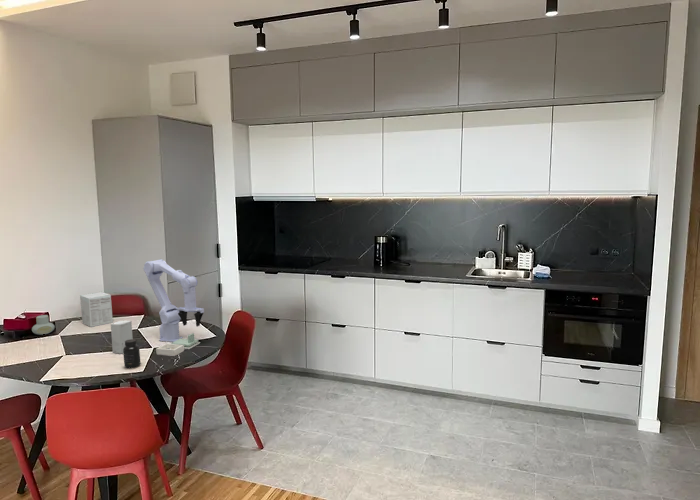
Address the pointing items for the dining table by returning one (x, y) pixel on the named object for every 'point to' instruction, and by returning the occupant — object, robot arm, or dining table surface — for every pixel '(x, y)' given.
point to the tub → (170, 349)
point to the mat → (192, 345)
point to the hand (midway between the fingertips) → (191, 325)
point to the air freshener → (43, 325)
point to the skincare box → (120, 335)
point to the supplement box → (96, 309)
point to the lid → (186, 341)
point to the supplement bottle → (131, 354)
